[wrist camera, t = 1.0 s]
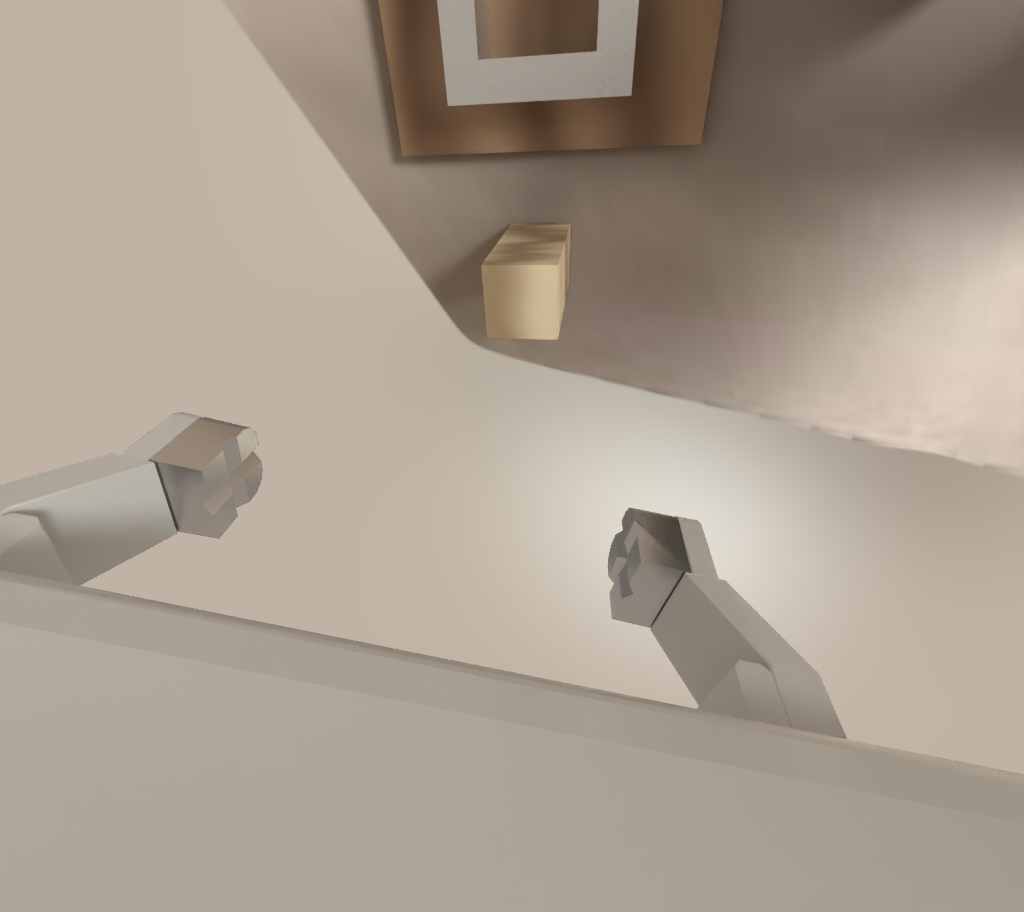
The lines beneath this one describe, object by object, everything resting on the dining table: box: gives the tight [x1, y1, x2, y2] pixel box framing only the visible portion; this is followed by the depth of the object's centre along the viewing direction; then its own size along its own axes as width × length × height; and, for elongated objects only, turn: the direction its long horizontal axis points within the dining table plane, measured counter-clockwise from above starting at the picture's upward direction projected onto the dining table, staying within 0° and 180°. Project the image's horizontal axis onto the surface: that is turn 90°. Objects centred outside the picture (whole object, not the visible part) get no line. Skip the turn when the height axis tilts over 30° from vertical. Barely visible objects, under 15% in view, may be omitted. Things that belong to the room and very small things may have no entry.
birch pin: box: [481, 223, 571, 340], centre depth 33 cm, size 4×4×11 cm
